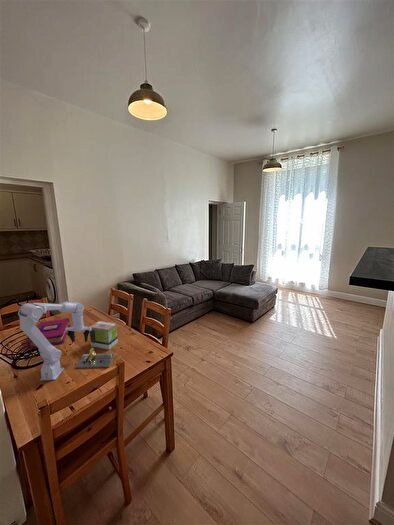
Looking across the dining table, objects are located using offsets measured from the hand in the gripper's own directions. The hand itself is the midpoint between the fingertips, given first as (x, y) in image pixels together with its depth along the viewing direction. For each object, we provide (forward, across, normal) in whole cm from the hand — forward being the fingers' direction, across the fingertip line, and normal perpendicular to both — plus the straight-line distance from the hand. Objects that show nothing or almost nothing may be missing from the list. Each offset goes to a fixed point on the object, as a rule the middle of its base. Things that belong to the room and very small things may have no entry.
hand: (79, 341), depth 136 cm
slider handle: (+9, -8, +5) cm, 13 cm away
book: (+11, +32, -26) cm, 43 cm away
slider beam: (+9, -11, +6) cm, 16 cm away
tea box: (+10, -11, -12) cm, 19 cm away
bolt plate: (+10, -11, +6) cm, 17 cm away
